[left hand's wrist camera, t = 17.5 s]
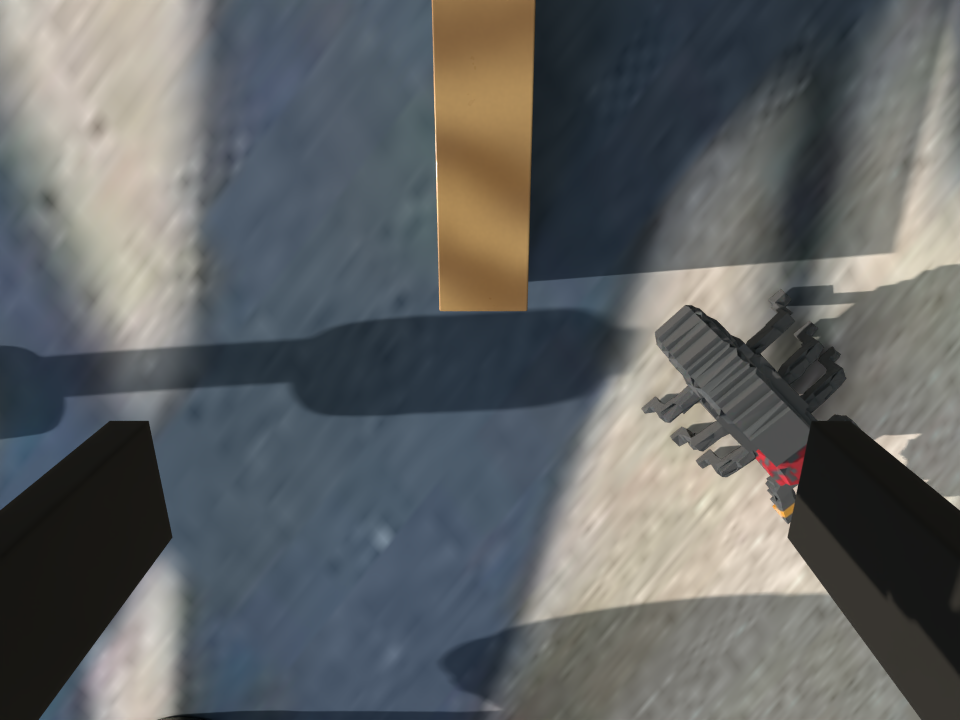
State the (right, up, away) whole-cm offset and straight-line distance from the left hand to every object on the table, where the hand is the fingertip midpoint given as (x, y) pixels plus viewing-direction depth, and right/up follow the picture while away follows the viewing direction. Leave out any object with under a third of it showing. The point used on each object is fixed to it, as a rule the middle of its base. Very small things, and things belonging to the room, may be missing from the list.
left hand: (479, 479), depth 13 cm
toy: (+20, 0, +37) cm, 42 cm away
